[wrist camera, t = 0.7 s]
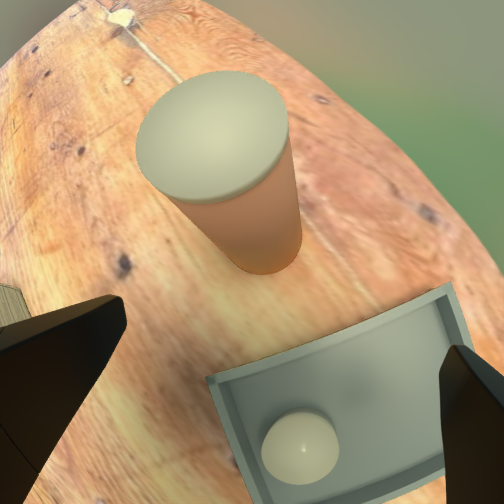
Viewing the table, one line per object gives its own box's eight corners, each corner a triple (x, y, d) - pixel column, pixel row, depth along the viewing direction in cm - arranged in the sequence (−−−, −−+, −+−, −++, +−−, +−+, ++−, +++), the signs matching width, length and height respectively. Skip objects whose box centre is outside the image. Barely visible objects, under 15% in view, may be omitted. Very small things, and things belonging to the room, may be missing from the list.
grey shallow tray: (273, 514, 18) (267, 534, 15) (218, 372, 21) (205, 377, 18) (476, 434, 16) (495, 444, 13) (434, 288, 20) (450, 280, 17)
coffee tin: (238, 287, 22) (148, 223, 10) (215, 216, 24) (128, 107, 12) (314, 258, 22) (314, 157, 10) (286, 189, 24) (255, 54, 11)
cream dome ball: (280, 473, 18) (274, 492, 15) (259, 418, 19) (250, 430, 16) (343, 454, 17) (348, 471, 15) (324, 397, 19) (326, 407, 16)
